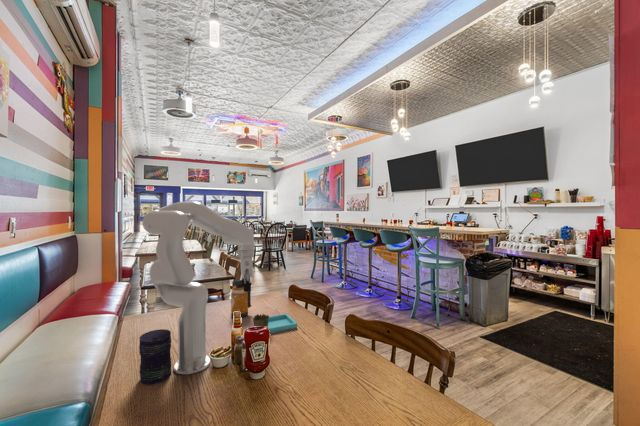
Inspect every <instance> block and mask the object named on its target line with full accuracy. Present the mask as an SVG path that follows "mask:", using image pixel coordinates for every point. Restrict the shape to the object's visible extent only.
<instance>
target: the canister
mask: <svg viewBox="0 0 640 426" xmlns="http://www.w3.org/2000/svg"><path fill="white" fill-rule="evenodd" d="M231 284H233V285H234V286H232V288H231V293H230V307H231V308H230V312H231V313H230V316H231V317H233V312H234V311H240V312H241V317H240V318H243V317H247V315H249V309H250V308H251V307H252V303H251V302H252V301H251V300H252V299H251V298H252V297H251V292H252V290H251V291H248V292H244V286H242V279H238V280H237V279H235V280H234V281H232V282H231ZM252 284H253V283H252V282H251V285H252Z"/></svg>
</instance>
